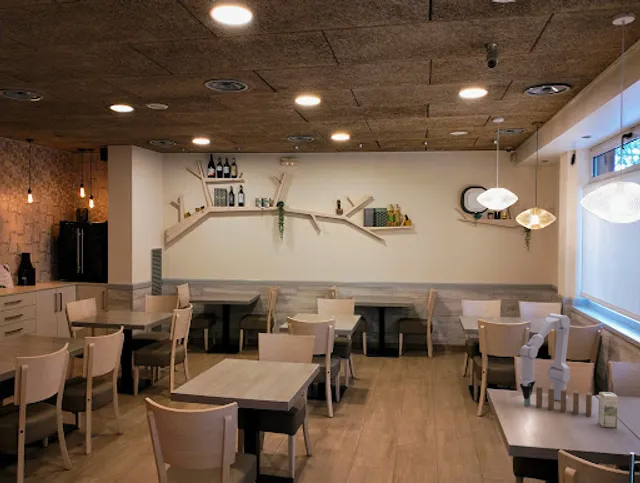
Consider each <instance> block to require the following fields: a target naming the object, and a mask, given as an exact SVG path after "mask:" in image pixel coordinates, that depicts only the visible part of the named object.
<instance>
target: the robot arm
mask: <svg viewBox="0 0 640 483" xmlns="http://www.w3.org/2000/svg"><path fill="white" fill-rule="evenodd" d="M544 321H545V322H544V324H543V325H542V327H541V328H540V330H539V331H538V333H537V334H533V335H532V337H531V338H530V339H529V340H528V341H527V343H526V344H525V345H522V346H521V347H520V348H519V355H520V359H521V376H520V377H519V378H518V379H519V380H521V381H522V383H520V384H519V387H520V389H521V392H522V397H523V399H529V395H530V397H532V393H533V388H534V386H535V383H536V381H535V358H536V357H537V356H538V352H539V349H540V348H541V346H542V345H543V344H544V343H545V340H544V339H545V338H546V336H547V335H549V333H550V332H551V331H552V330H555V331H556V332H557V333H556V342H555V350H554V361H553V362H552V363H550V364H549V368H548V370H547V377H548V378H549V380H550V384H551V385H550V387H554V401H560V402H561V390H562V389H567V384H568V383H569V381H570V379H571V372H570V371H571V368H570V367H569V366H568V365H567V363H566V362H567V354H568V353H567V351H568V343H569V333H570V324H571V319H570V317H568V315H565V314H563V315H562V314H559V313H558V314H557V313H554V312H550V313H547V316H545V319H544ZM528 384H531V386H529V385H528ZM530 390H531V393H530ZM568 397H569V396H568V395H566V401H567V400H568Z"/></svg>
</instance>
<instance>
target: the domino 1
mask: <svg viewBox="0 0 640 483" xmlns="http://www.w3.org/2000/svg"><path fill="white" fill-rule="evenodd" d="M528 385H529V386H531V384H528ZM530 393H531V390H530ZM523 399H524V398H523ZM523 403H524V404H523V406H524V407H530V405H531V396H530V395H529V399H524V402H523Z"/></svg>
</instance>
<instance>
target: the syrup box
mask: <svg viewBox="0 0 640 483" xmlns="http://www.w3.org/2000/svg"><path fill="white" fill-rule="evenodd" d="M618 398H619V397H618V395H616V394H615V393H613V392H609V391H608V392H607V391H599V392H598V420H597V421H598V422H597V423H598V424H599V425H600V426H602V427H603V428H611V429H612V428H615V429H616V428H617V426H618V425H617V424H618V423H617V422H618V402H619V401H618Z"/></svg>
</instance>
